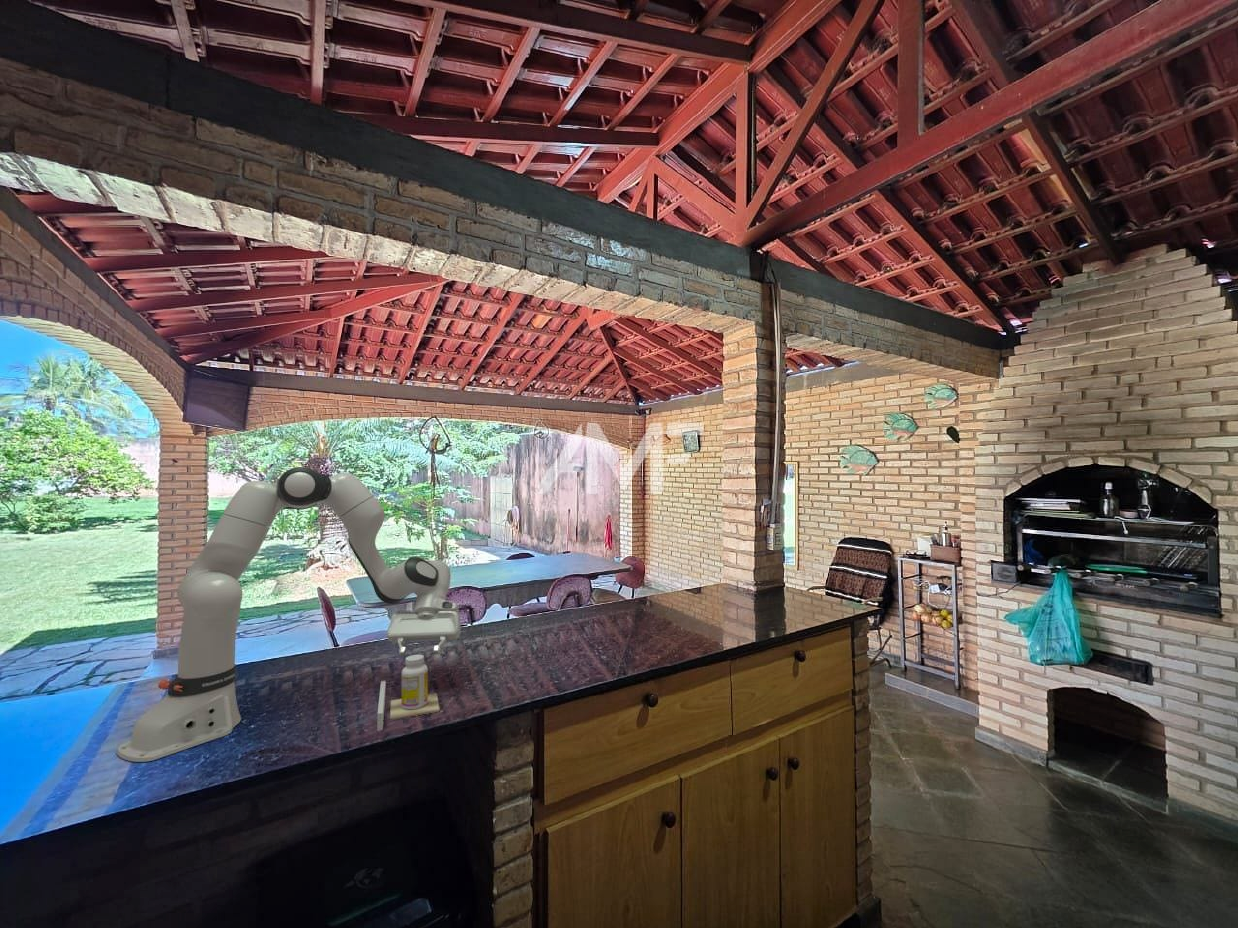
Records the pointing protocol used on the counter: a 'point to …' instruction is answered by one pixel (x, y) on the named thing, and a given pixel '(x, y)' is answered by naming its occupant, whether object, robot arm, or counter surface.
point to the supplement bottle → (414, 683)
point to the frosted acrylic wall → (381, 706)
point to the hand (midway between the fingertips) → (419, 653)
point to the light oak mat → (400, 712)
